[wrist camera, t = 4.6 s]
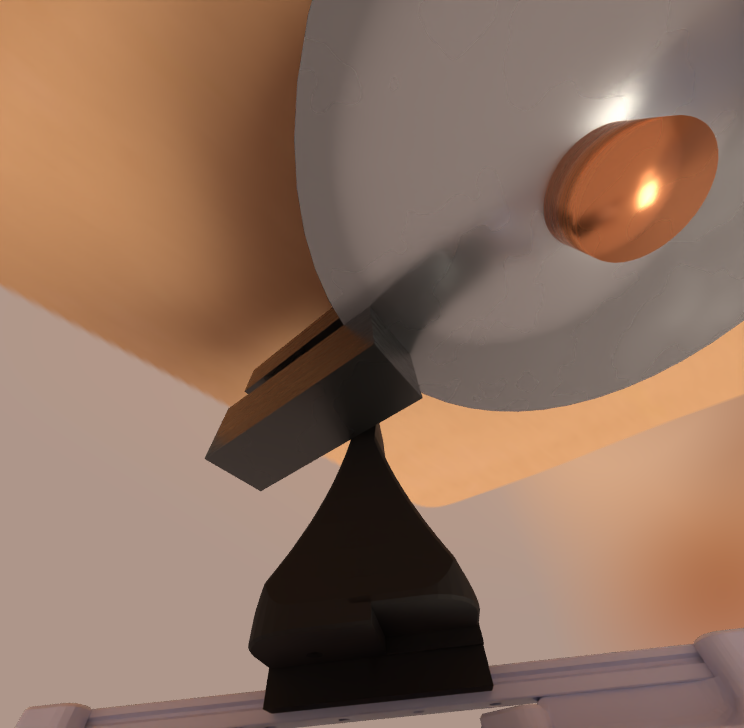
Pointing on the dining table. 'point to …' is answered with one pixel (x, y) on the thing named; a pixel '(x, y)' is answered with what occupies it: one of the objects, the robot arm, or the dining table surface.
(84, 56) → the dining table surface
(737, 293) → the cooker lid
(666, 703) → the robot arm
